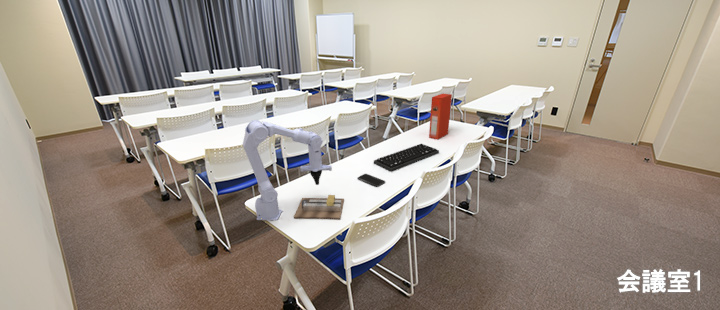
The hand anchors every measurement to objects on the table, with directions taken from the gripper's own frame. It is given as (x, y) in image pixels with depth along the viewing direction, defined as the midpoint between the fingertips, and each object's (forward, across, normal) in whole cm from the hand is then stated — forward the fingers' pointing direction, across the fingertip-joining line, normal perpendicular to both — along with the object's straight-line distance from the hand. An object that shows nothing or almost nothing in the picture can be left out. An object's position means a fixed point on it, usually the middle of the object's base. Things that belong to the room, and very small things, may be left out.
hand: (317, 183), depth 140 cm
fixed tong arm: (+8, +2, -9) cm, 12 cm away
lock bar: (+5, +7, -9) cm, 12 cm away
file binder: (+10, +85, +92) cm, 126 cm away
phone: (+10, +27, +20) cm, 35 cm away
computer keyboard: (+10, +53, +50) cm, 73 cm away
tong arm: (+8, +4, -7) cm, 12 cm away
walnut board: (+9, +2, -8) cm, 12 cm away
